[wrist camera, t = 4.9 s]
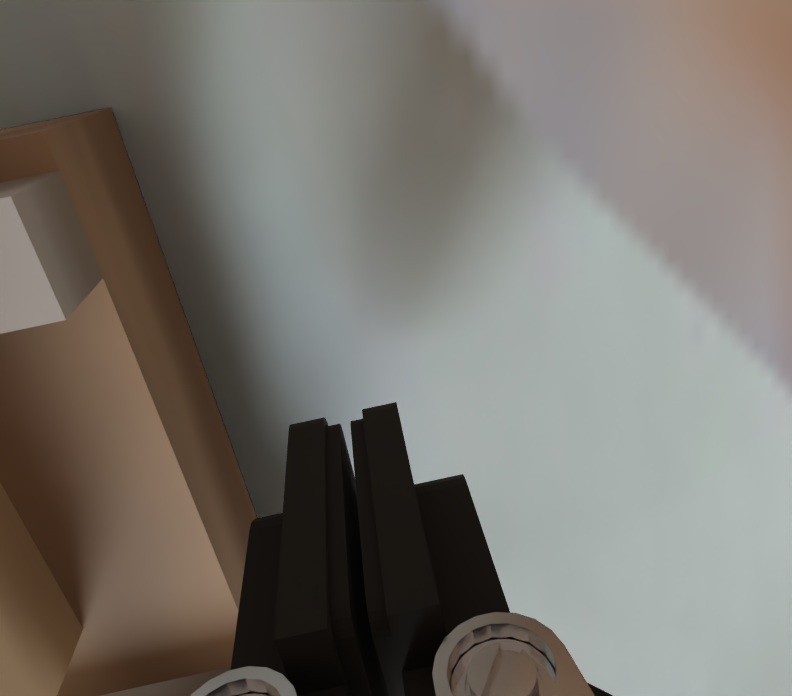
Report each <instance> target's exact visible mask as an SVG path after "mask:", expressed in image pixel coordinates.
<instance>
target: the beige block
mask: <svg viewBox="0 0 792 696" xmlns="http://www.w3.org/2000/svg"><path fill="white" fill-rule="evenodd" d="M82 631H83V628H82V626H81V624H80V622H79V621H78V619H77V617H76V615H75V613H74V612H73V610H72V608H71V606H70V605H69V603H68V601H67V599H66V598H65V596H64V594H63V592H62V591H61V589H60V587H59V585H58V583H57V582H56V580H55V578H54V576H53V575H52V573H51V571H50V569H49V568H48V566H47V564H46V562H45V561H44V559H43V557H42V555H41V553H40V552H39V550H38V548H37V546H36V545H35V543H34V541H33V539H32V538H31V536H30V534H29V532H28V530H27V529H26V527H25V525H24V523H23V522H22V520H21V518H20V516H19V515H18V513H17V511H16V509H15V508H14V506H13V504H12V502H11V500H10V499H9V497H8V495H7V493H6V492H5V490H4V488H3V486H2V485H1V483H0V696H57V694H58V692H59V689H60V687H61V684H62V682H63V679H64V677H65V674H66V671H67V669H68V666H69V664H70V661H71V659H72V656H73V654H74V651H75V649H76V646H77V644H78V641H79V638H80V636H81V633H82Z"/></svg>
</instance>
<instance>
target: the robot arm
mask: <svg viewBox="0 0 792 696" xmlns="http://www.w3.org/2000/svg"><path fill="white" fill-rule="evenodd" d="M362 413H363V419H360V420H355V421H351V435H352V446H353V458H354V469H355V477H354V473H353V469H352V465H351V461H350V458H349V454H348V450H347V446H346V442H345V438H344V434H343V431H342V427H341V425H340V424H336V425H332V426H328V423H327V421H326V419H325V418H320V419H315V420H311V421H306V422H301V423H297V424H292V425H290V426H289V436H288V450H287V464H286V478H285V492H284V506H283V513H281V514H276V515H271V516H267V517H262V518H257V519H254V520H253V521H252V522H251V526H250V530H249V537H248V545H247V552H246V559H245V567H244V574H243V581H242V589H241V596H240V603H239V611H238V618H237V625H236V633H235V640H234V647H233V655H232V662H231V670H229V671H227V672H225V673H223V674H221V675H219V676H217V677H215V678H213V679H211V680H209V681H207V682H206V683H205V684H204V685H202V686H201V687H200V688H199V689H197V690H196V691H195V692H194V693H192V694H191V695H190V696H612V695H611V694H609V693H607V692H605V691H603V690H601V689H599V688H597V687H595V686H593V685H591V684H589V683H587V682H586V680H585V679H584V677H583V675H582V674H581V672H580V670H579V669H578V667H577V665H576V664H575V662H574V660H573V659H572V657H571V656H570V654H569V652H568V651H567V649H566V647H565V646H564V644H563V643H562V642H561V641H560V640H559V638H558V637H557V636H556V635H555V634H554V632H553V631H552V630H551V629H549V628H548V627H546V626H545V625H543V624H541V623H540V622H538V621H537V620H535V619H533V618H530V617H527V616H523V615H520V614H517V613H510V611H509V608H508V605H507V602H506V599H505V596H504V593H503V590H502V587H501V584H500V581H499V578H498V575H497V572H496V569H495V566H494V563H493V560H492V557H491V554H490V551H489V548H488V545H487V542H486V539H485V536H484V533H483V530H482V527H481V524H480V521H479V518H478V515H477V512H476V509H475V506H474V503H473V500H472V497H471V494H470V491H469V488H468V485H467V483H466V480H465V477H464V476H463V474H462V475H457V476H452V477H448V478H443V479H439V480H434V481H429V482H425V483H420V484H415V485H414V483H413V478H412V473H411V469H410V464H409V460H408V455H407V450H406V446H405V441H404V436H403V432H402V427H401V422H400V418H399V413H398V408H397V404H396V402H395V403H391V404H386V405H381V406H376V407H372V408H367V409H363V410H362Z"/></svg>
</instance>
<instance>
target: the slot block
mask: <svg viewBox="0 0 792 696" xmlns="http://www.w3.org/2000/svg"><path fill="white" fill-rule="evenodd" d="M0 483H1V485H2V486H3V488H4V490H5V492H6V493H7V495H8V497H9V499H10V500H11V502H12V504H13V506H14V508H15V509H16V511H17V513H18V515H19V516H20V518H21V520H22V522H23V523H24V525H25V527H26V529H27V530H28V532H29V534H30V536H31V538H32V539H33V541H34V543H35V545H36V546H37V548H38V550H39V552H40V553H41V555H42V557H43V559H44V561H45V562H46V564H47V566H48V568H49V569H50V571H51V573H52V575H53V576H54V578H55V580H56V582H57V583H58V585H59V587H60V589H61V591H62V592H63V594H64V596H65V598H66V599H67V601H68V603H69V605H70V606H71V608H72V610H73V612H74V613H75V615H76V617H77V619H78V621H79V622H80V624H81V626H82V628H83V631H82V633H81V636H80V638H79V641H78V644H77V646H76V649H75V651H74V654H73V656H72V659H71V661H70V664H69V666H68V669H67V671H66V674H65V677H64V679H63V682H62V684H61V687H60V689H59V692H58V694H57V696H190V695H191V694H192V693H194V692H195V691H196V690H197V689H199V688H200V687H201V686H202V685H204V684H205V683H206V682H207V681H209V680H211V679H213V678H215V677H217V676H219V675H221V674H223V673H225V672H227V671H229V670H231V662H232V655H233V647H234V640H235V633H236V625H237V618H238V611H239V603H240V596H241V589H242V581H243V574H244V567H245V559H246V552H247V545H248V537H249V530H250V526H251V522H252V521H253V520H254V519H257V516H256V514H255V511H254V508H253V505H252V502H251V500H250V497H249V494H248V491H247V488H246V486H245V483H244V480H243V477H242V474H241V471H240V469H239V466H238V463H237V460H236V457H235V455H234V452H233V449H232V446H231V443H230V441H229V438H228V435H227V432H226V429H225V427H224V424H223V421H222V418H221V415H220V413H219V410H218V407H217V404H216V401H215V399H214V396H213V393H212V390H211V387H210V385H209V382H208V379H207V376H206V373H205V371H204V368H203V365H202V362H201V359H200V357H199V354H198V351H197V348H196V345H195V343H194V340H193V337H192V334H191V331H190V329H189V326H188V323H187V320H186V317H185V314H184V312H183V309H182V306H181V303H180V300H179V298H178V295H177V292H176V289H175V286H174V284H173V281H172V278H171V275H170V272H169V270H168V267H167V264H166V261H165V258H164V256H163V253H162V250H161V247H160V244H159V242H158V239H157V236H156V233H155V230H154V228H153V225H152V222H151V219H150V216H149V214H148V211H147V208H146V205H145V202H144V200H143V197H142V194H141V191H140V188H139V186H138V183H137V180H136V177H135V174H134V171H133V169H132V166H131V163H130V160H129V157H128V155H127V152H126V149H125V146H124V143H123V141H122V138H121V135H120V132H119V129H118V127H117V124H116V121H115V118H114V115H113V113H112V110H111V108H106V109H101V110H96V111H91V112H86V113H81V114H76V115H71V116H66V117H62V118H57V119H52V120H47V121H42V122H37V123H32V124H27V125H22V126H17V127H13V128H8V129H3V130H0Z"/></svg>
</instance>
